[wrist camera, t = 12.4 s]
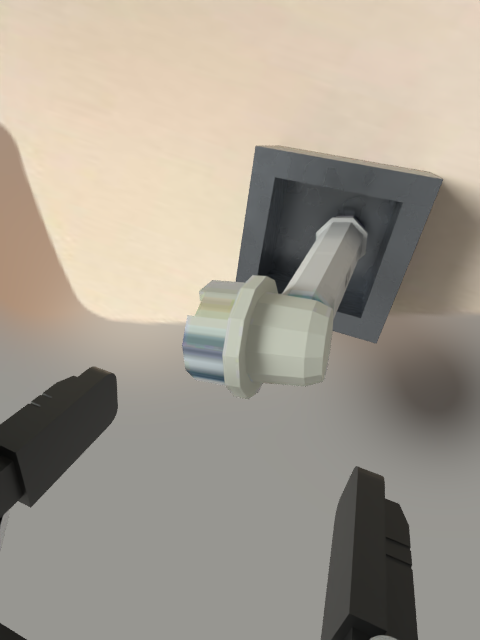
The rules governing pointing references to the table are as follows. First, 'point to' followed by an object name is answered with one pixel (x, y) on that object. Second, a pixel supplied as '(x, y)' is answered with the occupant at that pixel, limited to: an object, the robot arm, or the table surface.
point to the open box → (318, 208)
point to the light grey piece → (274, 318)
